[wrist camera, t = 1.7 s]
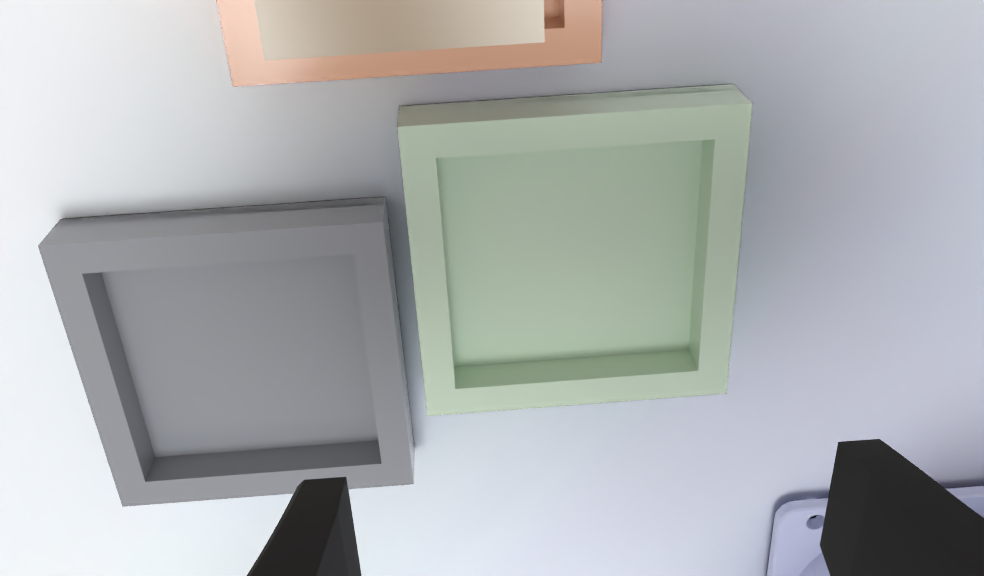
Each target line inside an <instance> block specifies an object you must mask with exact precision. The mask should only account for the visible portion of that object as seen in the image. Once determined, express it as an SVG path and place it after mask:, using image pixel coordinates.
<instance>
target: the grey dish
mask: <svg viewBox="0 0 984 576" xmlns="http://www.w3.org/2000/svg"><path fill="white" fill-rule="evenodd" d="M38 247H39V250H40V253H41V256H42V260H43V263H44V266H45V269H46V272H47V275H48V278H49V281H50V284H51V287H52V290H53V293H54V297H55V300H56V303H57V306H58V309H59V312H60V315H61V318H62V321H63V324H64V327H65V330H66V334H67V337H68V340H69V343H70V346H71V349H72V352H73V355H74V358H75V361H76V364H77V367H78V370H79V374H80V377H81V380H82V383H83V386H84V389H85V392H86V395H87V398H88V401H89V404H90V407H91V411H92V414H93V417H94V420H95V423H96V426H97V429H98V432H99V435H100V438H101V441H102V444H103V448H104V451H105V454H106V457H107V460H108V463H109V466H110V469H111V472H112V475H113V478H114V481H115V484H116V488H117V491H118V494H119V497H120V500H121V503H122V506H136V505H149V504H162V503H175V502H188V501H201V500H214V499H227V498H240V497H253V496H265V495H278V494H291V493H294V492H295V490H296V488H297V486H298V485H299V484H300V483H301V482H302V481H303V480H307V479H321V478H335V477H346V478H347V485H348V489H356V488H369V487H382V486H395V485H408V484H414V451H415V450H414V441H413V432H412V424H411V415H410V406H409V398H408V389H407V380H406V372H405V363H404V354H403V346H402V337H401V328H400V320H399V311H398V303H397V294H396V285H395V277H394V268H393V259H392V251H391V242H390V233H389V225H388V216H387V207H386V199H385V197H375V198H361V199H346V200H332V201H317V202H303V203H288V204H274V205H259V206H245V207H230V208H216V209H201V210H187V211H172V212H158V213H144V214H129V215H115V216H100V217H86V218H71V219H60V221H59V222H58V223H57V224H56V225H55V227H54V228H53V229H52V230H51V231H50V232H49V234H48V235H47V236H46V237H45V238H44V239H43V241H42V242H41V243H40V244H39V245H38Z"/></svg>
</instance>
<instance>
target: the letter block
mask: <svg viewBox="0 0 984 576" xmlns="http://www.w3.org/2000/svg"><path fill="white" fill-rule="evenodd" d="M254 3H255V8H256V14H257V20H258V26H259V32H260V38H261V43H262V49H263V55H264V60H279V59H295V58H310V57H326V56H341V55H356V54H372V53H387V52H403V51H418V50H433V49H449V48H464V47H480V46H495V45H511V44H526V43H541V42H545V31H544V0H254Z"/></svg>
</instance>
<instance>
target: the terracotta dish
mask: <svg viewBox="0 0 984 576" xmlns="http://www.w3.org/2000/svg"><path fill="white" fill-rule="evenodd" d="M216 2H217V7H218V12H219V17H220V23H221V28H222V33H223V38H224V43H225V49H226V54H227V59H228V64H229V70H230V75H231V80H232V85H233V87H237V86H253V85H268V84H283V83H298V82H314V81H329V80H344V79H359V78H375V77H390V76H405V75H420V74H436V73H451V72H466V71H481V70H497V69H512V68H527V67H542V66H558V65H573V64H588V63H602V0H544V31H545V42H541V43H526V44H511V45H495V46H480V47H464V48H449V49H433V50H418V51H403V52H387V53H372V54H356V55H341V56H326V57H310V58H295V59H279V60H264V55H263V49H262V43H261V38H260V32H259V26H258V20H257V14H256V8H255V3H254V0H216Z"/></svg>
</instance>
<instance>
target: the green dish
mask: <svg viewBox="0 0 984 576" xmlns="http://www.w3.org/2000/svg"><path fill="white" fill-rule="evenodd" d="M752 105H753V103H752V102H751V101H750V100H749V99H748V98H747V97H746V96H745V95H744V94H743V93H742V92H741V91H740V90H739V89H738V88H737V87H736V86H735V85H734V84H727V85H712V86H697V87H681V88H666V89H651V90H636V91H621V92H606V93H591V94H576V95H561V96H546V97H531V98H516V99H501V100H486V101H471V102H456V103H441V104H426V105H411V106H399V113H398V123H397V131H398V140H399V150H400V160H401V169H402V179H403V188H404V198H405V207H406V217H407V227H408V236H409V246H410V255H411V265H412V274H413V284H414V293H415V303H416V313H417V322H418V332H419V341H420V351H421V360H422V370H423V379H424V389H425V399H426V408H427V416H435V415H448V414H462V413H475V412H488V411H501V410H515V409H528V408H541V407H554V406H568V405H581V404H594V403H607V402H621V401H634V400H647V399H661V398H674V397H687V396H700V395H714V394H726V391H727V380H728V369H729V358H730V347H731V336H732V325H733V314H734V303H735V292H736V281H737V270H738V259H739V248H740V237H741V226H742V215H743V204H744V193H745V182H746V171H747V160H748V149H749V138H750V127H751V116H752Z"/></svg>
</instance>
